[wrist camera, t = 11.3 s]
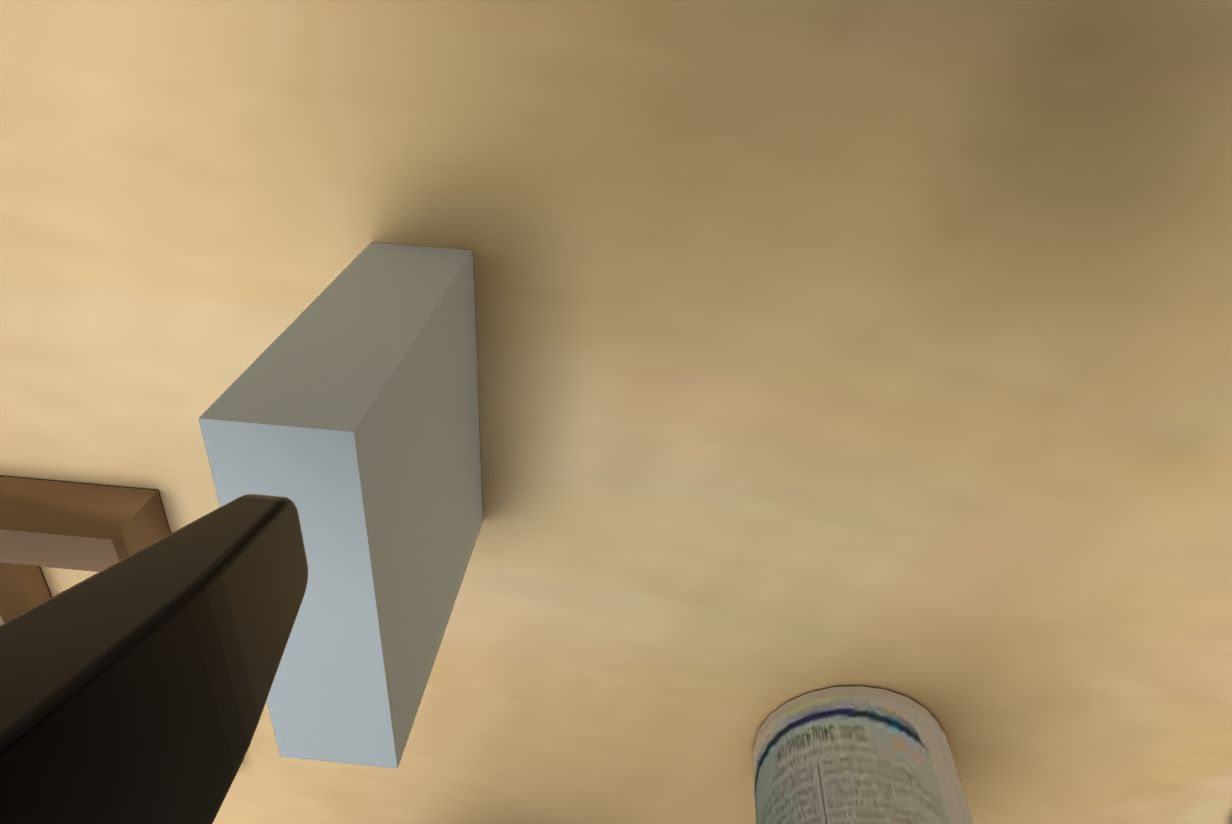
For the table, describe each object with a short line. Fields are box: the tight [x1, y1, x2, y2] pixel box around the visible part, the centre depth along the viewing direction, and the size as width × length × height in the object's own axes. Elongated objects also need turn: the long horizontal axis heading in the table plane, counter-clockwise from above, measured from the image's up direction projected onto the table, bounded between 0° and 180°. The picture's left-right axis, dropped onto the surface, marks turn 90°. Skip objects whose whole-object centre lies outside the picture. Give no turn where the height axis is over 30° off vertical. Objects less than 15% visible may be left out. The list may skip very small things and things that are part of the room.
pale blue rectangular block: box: [199, 242, 483, 769], centre depth 18 cm, size 8×2×8 cm, turn 177°
